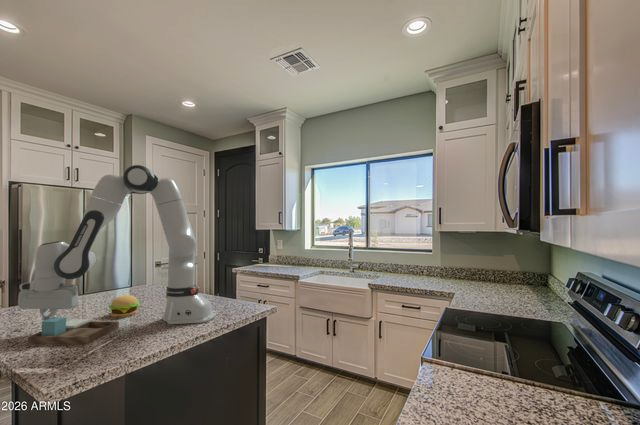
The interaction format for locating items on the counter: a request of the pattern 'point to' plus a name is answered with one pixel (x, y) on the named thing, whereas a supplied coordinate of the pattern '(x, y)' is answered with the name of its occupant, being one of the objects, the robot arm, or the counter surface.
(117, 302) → the hamburger
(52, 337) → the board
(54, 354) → the counter surface
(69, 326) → the cover
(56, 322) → the block
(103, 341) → the counter surface
